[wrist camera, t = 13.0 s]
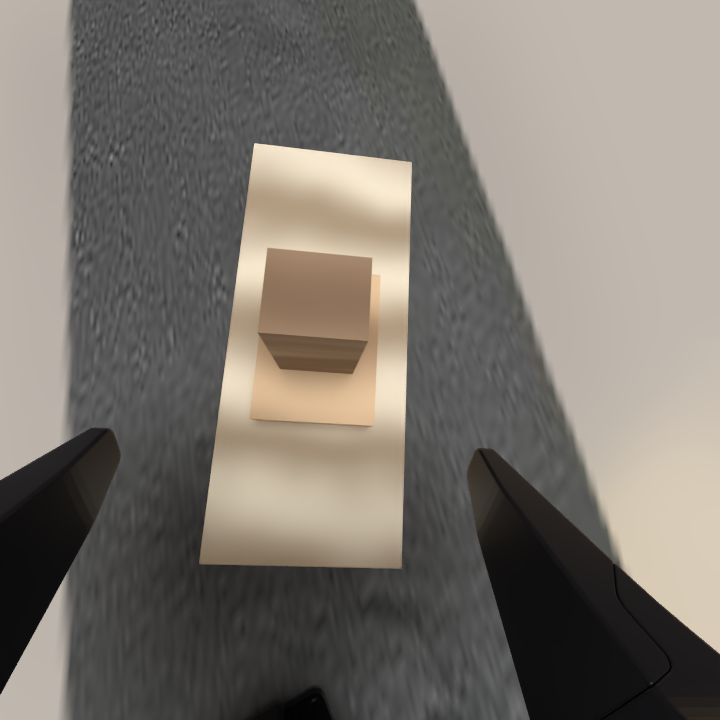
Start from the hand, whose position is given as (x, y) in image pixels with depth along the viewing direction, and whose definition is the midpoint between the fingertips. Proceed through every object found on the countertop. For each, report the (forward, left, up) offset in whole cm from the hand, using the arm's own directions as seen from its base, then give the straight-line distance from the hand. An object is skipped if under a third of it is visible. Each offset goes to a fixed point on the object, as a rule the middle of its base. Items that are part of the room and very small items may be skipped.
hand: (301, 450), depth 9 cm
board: (+5, -3, -14) cm, 15 cm away
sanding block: (+4, -2, -11) cm, 12 cm away
